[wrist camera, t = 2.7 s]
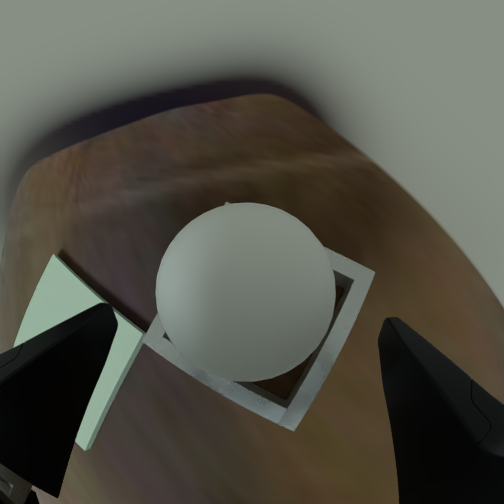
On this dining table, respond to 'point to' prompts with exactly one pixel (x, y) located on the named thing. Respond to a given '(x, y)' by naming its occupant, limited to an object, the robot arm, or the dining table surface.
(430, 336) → the dining table surface
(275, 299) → the lightbulb
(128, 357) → the green mat
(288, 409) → the grey square frame
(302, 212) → the dining table surface
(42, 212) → the dining table surface
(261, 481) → the dining table surface
